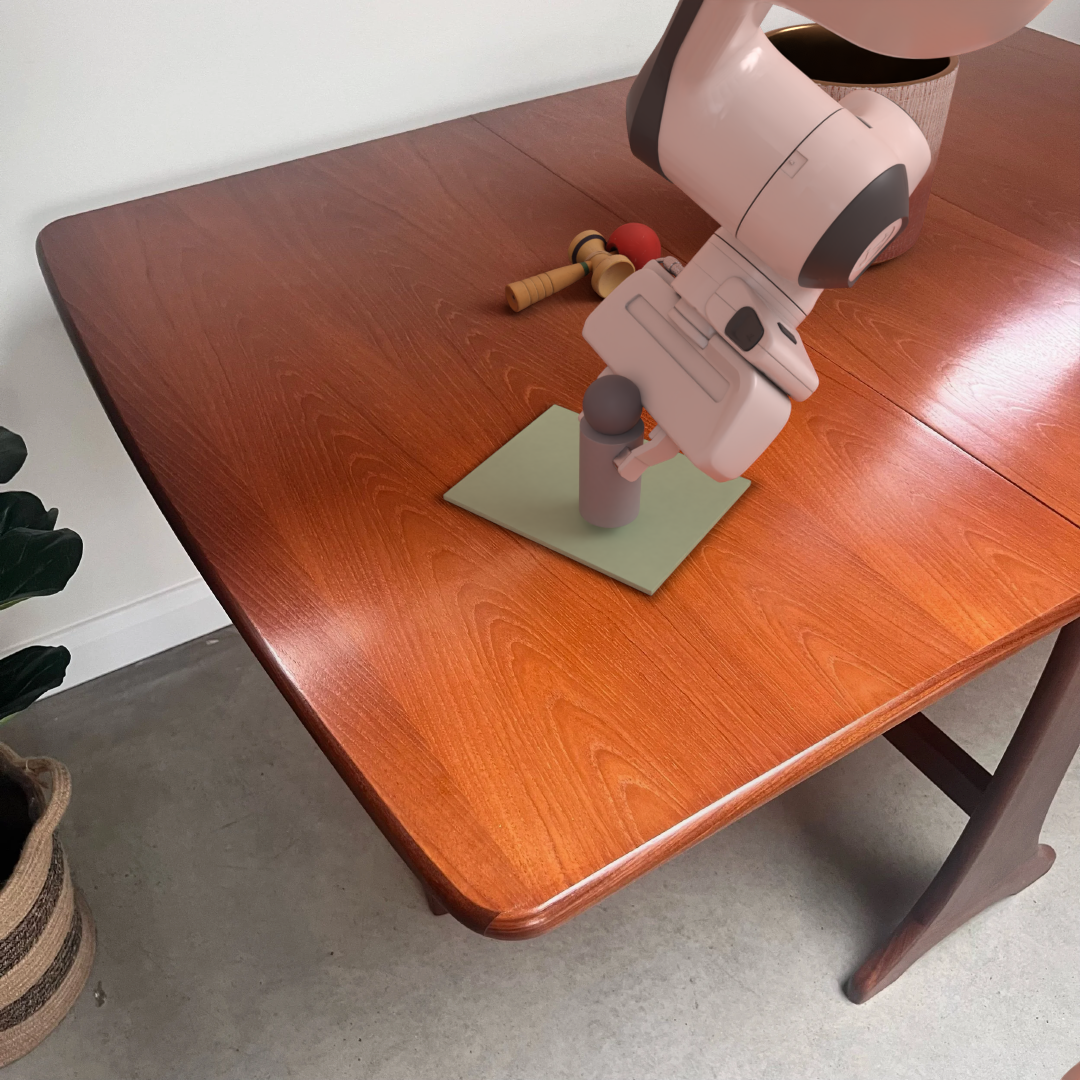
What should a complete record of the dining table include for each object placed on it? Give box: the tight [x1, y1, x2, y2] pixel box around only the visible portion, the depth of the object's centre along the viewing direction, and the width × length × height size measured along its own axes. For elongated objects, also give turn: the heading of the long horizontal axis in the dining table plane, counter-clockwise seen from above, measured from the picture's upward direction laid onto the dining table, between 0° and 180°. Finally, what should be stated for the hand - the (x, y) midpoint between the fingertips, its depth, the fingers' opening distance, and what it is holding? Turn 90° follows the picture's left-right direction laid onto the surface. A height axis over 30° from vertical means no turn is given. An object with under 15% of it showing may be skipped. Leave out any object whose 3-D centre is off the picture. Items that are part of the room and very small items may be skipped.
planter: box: [764, 22, 960, 267], centre depth 115 cm, size 22×22×20 cm
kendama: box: [504, 222, 662, 313], centre depth 111 cm, size 8×6×18 cm
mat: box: [443, 403, 752, 596], centre depth 86 cm, size 20×16×1 cm
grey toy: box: [579, 375, 645, 528], centre depth 78 cm, size 5×5×12 cm
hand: (603, 450), depth 78 cm, fingers closed on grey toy, 5 cm apart
